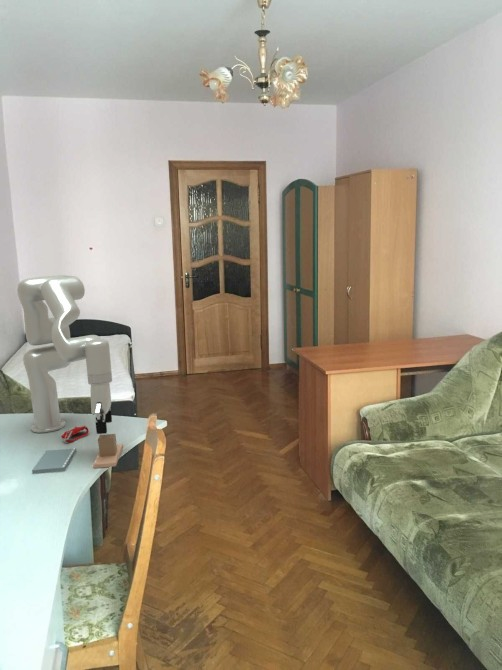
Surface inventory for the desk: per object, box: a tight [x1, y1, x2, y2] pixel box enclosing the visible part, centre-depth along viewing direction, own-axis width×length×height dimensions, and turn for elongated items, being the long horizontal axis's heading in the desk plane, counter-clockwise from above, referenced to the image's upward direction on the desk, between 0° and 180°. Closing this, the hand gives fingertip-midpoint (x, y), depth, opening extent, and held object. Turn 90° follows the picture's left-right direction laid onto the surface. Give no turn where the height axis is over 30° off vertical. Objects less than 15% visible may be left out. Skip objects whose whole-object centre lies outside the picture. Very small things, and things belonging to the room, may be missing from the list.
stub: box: [92, 433, 124, 469], centre depth 181 cm, size 16×7×7 cm, turn 5°
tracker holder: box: [60, 425, 90, 443], centre depth 202 cm, size 12×4×10 cm
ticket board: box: [31, 447, 77, 475], centre depth 181 cm, size 16×10×1 cm, turn 5°
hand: (104, 427), depth 181 cm, fingers open, 9 cm apart
